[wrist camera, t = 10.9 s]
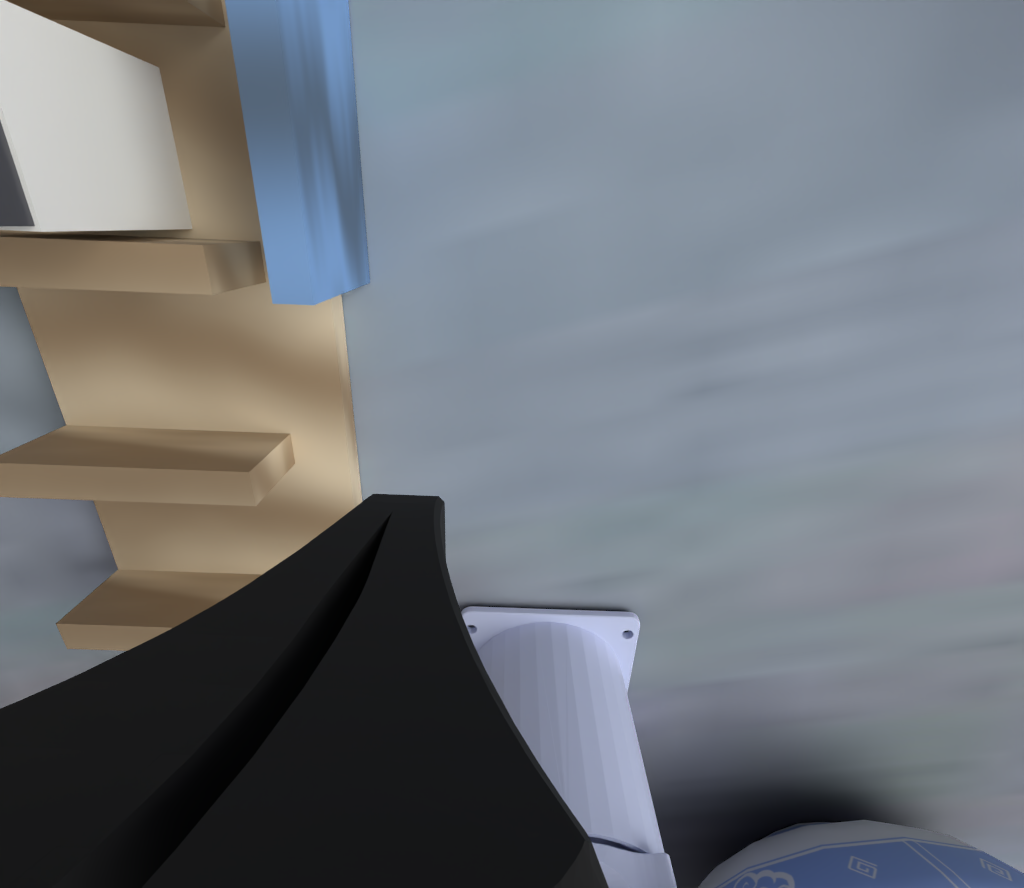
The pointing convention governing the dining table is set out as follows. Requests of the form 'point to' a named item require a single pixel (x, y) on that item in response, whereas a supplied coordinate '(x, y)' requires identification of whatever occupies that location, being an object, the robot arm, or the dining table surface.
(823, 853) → the ramen bowl
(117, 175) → the grey rectangular block
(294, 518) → the cable comb
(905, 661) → the dining table surface
